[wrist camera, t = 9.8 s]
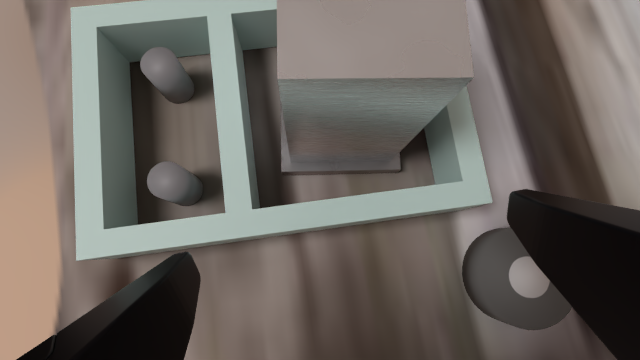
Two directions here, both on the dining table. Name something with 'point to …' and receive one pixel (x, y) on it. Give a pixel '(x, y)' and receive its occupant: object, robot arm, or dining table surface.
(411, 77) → the gray rectangular block
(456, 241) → the dining table surface
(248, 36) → the frame
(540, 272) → the loose wheel
